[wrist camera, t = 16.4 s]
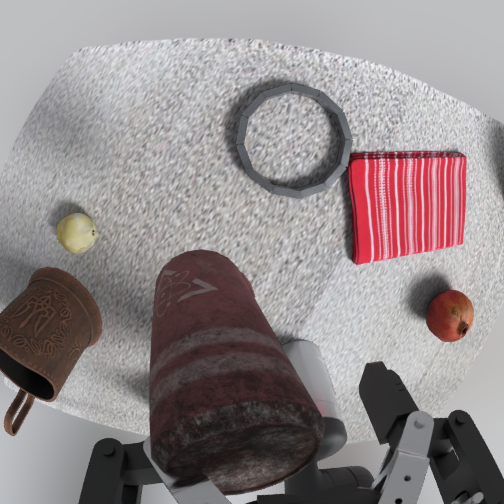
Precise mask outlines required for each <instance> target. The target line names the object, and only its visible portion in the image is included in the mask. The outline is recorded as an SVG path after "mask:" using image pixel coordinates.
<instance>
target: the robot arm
mask: <svg viewBox="0 0 504 504" xmlns="http://www.w3.org/2000/svg"><path fill="white" fill-rule="evenodd" d="M282 348H283V349H284V351H285V353H286V355H287V356H288V358H289V360H290V362H291V363H292V365H293V367H294V369H295V370H296V372H297V374H298V375H299V377H300V379H301V381H302V382H303V384H304V386H305V387H306V389H307V391H308V393H309V394H310V396H311V398H312V399H313V401H314V403H315V404H316V406H317V408H318V410H319V411H320V413H321V415H322V418H323V420H324V422H325V431H324V438H323V443H322V447H321V451H320V452H319V454H318V455H317V456H316V458H315V459H314V460H313V461H312V463H310V464H309V465H308V466H307V467H305V468H304V469H303V470H301V471H300V472H299V473H298V474H296V475H294V476H292V477H290V478H288V479H286V480H285V481H284V482H285V494H274V495H257V500H256V501H252V502H249V503H246V504H416V503H417V501H418V497H419V495H420V492H421V489H422V486H423V482H424V479H425V476H426V473H427V469H428V465H430V467H431V470H432V472H433V475H434V478H435V480H436V483H437V486H438V488H439V491H440V494H441V496H442V499H443V502H444V504H504V479H503V476H502V474H501V472H500V470H499V468H498V466H497V464H496V462H495V460H494V458H493V456H492V454H491V453H490V451H489V449H488V447H487V445H486V443H485V441H484V439H483V438H482V436H481V434H480V432H479V431H478V429H477V427H476V425H475V424H474V422H473V420H472V418H471V417H470V415H469V414H468V413H467V412H465V411H462V410H455V411H453V412H451V413H450V415H449V416H448V418H432V416H431V415H430V414H428V413H426V412H424V411H419V409H418V407H417V406H416V404H415V402H414V400H413V399H412V397H411V395H410V394H409V392H408V390H406V387H405V385H404V384H403V382H402V380H401V378H400V377H399V375H398V374H396V373H395V372H394V371H392V370H387V368H386V367H385V365H384V363H383V362H382V361H379V362H373V363H367V364H366V366H365V369H364V372H363V375H362V378H361V381H360V384H359V394H360V397H361V400H362V402H363V404H364V407H365V409H366V411H367V414H368V416H369V419H370V421H371V423H372V426H373V428H374V431H375V433H376V436H377V438H378V441H379V443H380V445H381V444H386V443H389V446H390V447H389V448H388V451H387V453H386V456H385V458H384V461H383V463H382V465H381V468H380V470H379V472H378V475H377V477H376V479H375V480H374V478H373V476H372V475H371V473H370V472H369V471H368V470H367V469H365V468H364V467H361V466H349V467H341V468H331V469H319V470H318V467H317V462H318V461H320V460H322V459H325V458H327V457H329V456H331V455H333V454H335V453H336V452H338V451H339V450H340V449H341V448H342V447H343V446H344V445H345V443H346V441H347V433H346V429H345V426H344V423H343V420H342V417H341V414H340V410H339V408H338V404H337V401H336V398H335V394H336V393H335V390H334V387H333V384H332V381H331V378H330V375H329V372H328V369H327V366H326V363H325V360H324V358H322V355H321V352H320V349H319V348H318V346H317V345H315V344H314V343H312V342H309V341H305V340H297V341H292V342H289V343H286V344H284V345H282ZM453 448H454V450H453ZM454 451H455V452H454ZM455 453H456V454H455ZM456 455H457V456H456ZM457 457H458V458H457ZM458 459H459V460H458ZM156 483H164V484H165V486H166V487H167V489H168V490H169V492H170V493H171V494H172V496H173V497H174V498H175V500H176V501H177V503H178V504H232V503H231V502H230V501H229V500H228V499H227V498H226V497H225V496H224V495H223V494H222V493H221V492H220V491H219V489H218V488H217V487H216V486H215V485H214V484H213V483H212V482H211V480H210V479H209V478H208V477H207V476H206V475H205V474H203V473H201V472H200V471H199V470H198V469H197V468H196V466H195V465H194V464H193V463H192V464H187V465H183V466H179V467H174V468H170V469H168V470H167V471H166V472H162V471H161V469H160V468H159V467H158V466H157V465H156V464H155V462H154V461H153V460H152V459H151V444H150V436H149V437H148V438H147V439H146V440H145V441H143V442H140V443H133V444H124V445H122V444H121V443H120V442H119V441H118V440H116V439H113V438H105V439H102V440H100V441H98V442H97V443H96V444H95V446H94V448H93V452H92V455H91V458H90V462H89V465H88V469H87V472H86V476H85V480H84V484H83V488H82V492H81V495H80V500H79V504H140V502H141V494H142V487H143V485H148V484H156Z"/></svg>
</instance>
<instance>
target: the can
mask: <svg viewBox="0 0 504 504" xmlns="http://www.w3.org/2000/svg"><path fill="white" fill-rule="evenodd" d="M324 431H325V422H324V420H323V418H322V415H321V413H320V411H319V410H318V408H317V406H316V404H315V403H314V401H313V399H312V398H311V396H310V394H309V393H308V391H307V389H306V387H305V386H304V384H303V382H302V381H301V379H300V377H299V375H298V374H297V372H296V370H295V369H294V367H293V365H292V363H291V362H290V360H289V358H288V356H287V355H286V353H285V351H284V349H283V348H282V346H281V344H280V342H279V341H278V339H277V337H276V335H275V334H274V332H273V330H272V328H271V327H270V325H269V323H268V321H267V319H266V318H265V316H264V314H263V312H262V311H261V309H260V307H259V305H258V303H257V302H256V300H255V294H254V291H253V289H252V286H251V283H250V282H249V281H248V279H247V278H246V276H245V275H244V274H243V273H242V272H240V271H239V269H238V267H237V266H236V265H235V264H234V263H233V262H232V261H231V260H230V259H229V258H227V257H225V256H223V255H221V254H219V253H217V252H214V251H208V250H194V251H187V252H184V253H182V254H180V255H178V256H176V257H174V258H172V259H171V260H170V261H169V262H168V263H167V264H166V265H165V266H164V267H163V268H162V270H161V272H160V274H159V276H158V278H157V280H156V288H155V297H154V308H153V321H152V336H151V356H150V444H151V459H152V460H153V461H154V462H155V464H156V465H157V466H158V467H159V468H160V469H161V471H162V472H166V471H167V470H168V469H170V468H174V467H179V466H183V465H187V464H192V463H193V464H194V465H195V466H196V468H197V469H198V470H199V471H200V472H201V473H203V474H205V475H206V476H207V477H208V478H209V479H210V480H211V482H212V483H213V484H214V485H215V486H216V487H217V488H218V489H219V491H220V492H221V493H222V494H223V495H224V496H226V495H238V494H244V493H249V492H253V491H257V490H262V489H265V488H267V487H270V486H273V485H276V484H278V483H281V482H283V481H285V480H286V479H288V478H290V477H292V476H294V475H296V474H298V473H299V472H300V471H301V470H303V469H304V468H305V467H307V466H308V465H309V464H310V463H312V461H313V460H314V459H315V458H316V456H317V455H318V454H319V452H320V451H321V447H322V443H323V438H324Z"/></svg>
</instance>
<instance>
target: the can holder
mask: <svg viewBox="0 0 504 504" xmlns="http://www.w3.org/2000/svg"><path fill="white" fill-rule="evenodd" d="M101 333H102V320H101V315H100V311H99V309H98V307H97V305H96V303H95V301H94V299H93V298H92V296H91V295H90V293H89V292H88V290H87V289H86V288H85V287H84V286H83V285H82V284H81V283H80V282H79V281H78V280H77V279H76V278H74V277H73V276H71V275H70V274H69V273H67V272H65V271H62V270H60V269H58V268H51V267H46V268H41V269H39V270H38V271H36V272H35V273H34V274H33V275H32V277H31V279H30V281H29V285H28V287H27V289H26V290H25V291H23V292H22V293H21V294H20V295H19V296H18V297H17V298H16V299H15V300H14V301H12V302H11V303H10V304H9V305H8V306H7V307H6V308H5V309H4V310H3V311H2V312H1V313H0V371H1V372H2V373H3V374H4V375H5V376H6V377H7V378H9V379H10V380H11V381H12V382H13V383H14V384H15V385H17V386H18V387H19V388H20V390H19V392H18V394H17V396H16V398H15V399H14V401H13V403H12V404H11V406H10V407H9V409H8V411H7V413H6V415H5V419H4V428H5V431H6V432H7V433H9V434H10V435H11V436H15V435H16V434H17V432H18V431H19V429H20V426H21V425H22V423H23V421H24V419H25V417H26V416H27V414H28V412H29V410H30V409H31V407H32V405H33V402H34V399H35V397H36V398H38V399H40V400H43V401H46V402H52V401H54V400H55V399H56V397H57V396H58V394H59V392H60V390H61V388H62V387H63V385H64V383H65V381H66V380H67V378H68V376H69V374H70V373H71V371H72V369H73V368H74V366H75V364H76V363H77V361H78V359H79V358H80V356H81V354H82V353H83V351H84V350H85V349H86V348H87V347H89V346H92V345H94V344H95V343H96V342H97V341H98V340H99V338H100V335H101ZM27 393H28V397H27V400H26V402H25V404H24V406H23V407H22V409H21V411H20V412H19V414H18V416H17V418H16V419H15V421H14V423H13V425H12V421H13V418H14V416H15V414H16V413H17V411H18V409H19V408H20V406H21V404H22V402H23V400H24V398H25V396H26V394H27Z"/></svg>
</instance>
